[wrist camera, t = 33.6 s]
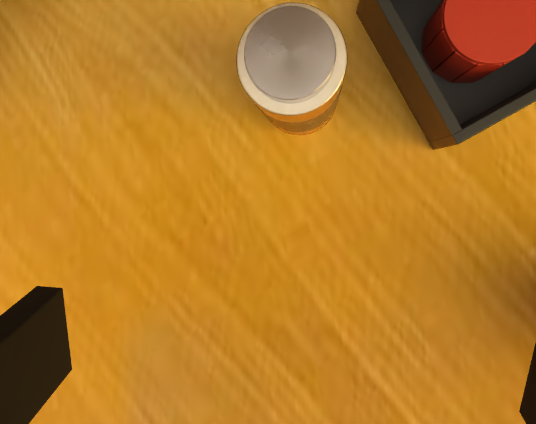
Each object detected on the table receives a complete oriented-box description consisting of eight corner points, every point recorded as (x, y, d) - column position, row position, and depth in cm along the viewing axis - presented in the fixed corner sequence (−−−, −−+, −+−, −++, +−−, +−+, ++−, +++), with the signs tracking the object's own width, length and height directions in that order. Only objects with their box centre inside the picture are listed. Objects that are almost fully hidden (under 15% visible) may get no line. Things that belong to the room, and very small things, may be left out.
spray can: (249, 84, 42) (210, 32, 27) (314, 44, 42) (312, -32, 26) (285, 149, 43) (267, 134, 27) (351, 110, 42) (371, 73, 26)
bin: (355, 12, 41) (364, -22, 34) (490, -70, 39) (529, -125, 32) (433, 150, 41) (457, 144, 34) (570, 73, 40) (626, 50, 32)
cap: (407, 26, 40) (426, -5, 33) (482, -18, 39) (518, -59, 32) (446, 98, 40) (473, 81, 33) (521, 56, 39) (565, 30, 32)
